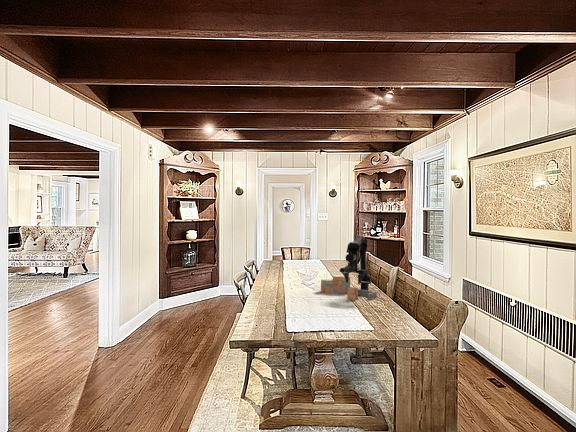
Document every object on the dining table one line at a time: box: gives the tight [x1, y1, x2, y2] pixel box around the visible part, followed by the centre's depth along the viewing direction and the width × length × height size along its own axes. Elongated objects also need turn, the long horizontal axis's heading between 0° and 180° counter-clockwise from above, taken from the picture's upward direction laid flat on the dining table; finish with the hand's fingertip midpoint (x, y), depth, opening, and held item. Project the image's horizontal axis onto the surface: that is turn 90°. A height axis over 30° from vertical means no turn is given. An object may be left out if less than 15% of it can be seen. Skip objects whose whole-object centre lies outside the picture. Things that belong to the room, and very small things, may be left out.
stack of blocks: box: [320, 274, 351, 294], centre depth 338 cm, size 21×6×12 cm, turn 86°
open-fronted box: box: [358, 288, 378, 301], centre depth 322 cm, size 11×17×4 cm, turn 50°
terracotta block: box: [347, 286, 359, 301], centre depth 312 cm, size 5×5×8 cm
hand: (352, 283), depth 312 cm, fingers open, 9 cm apart
